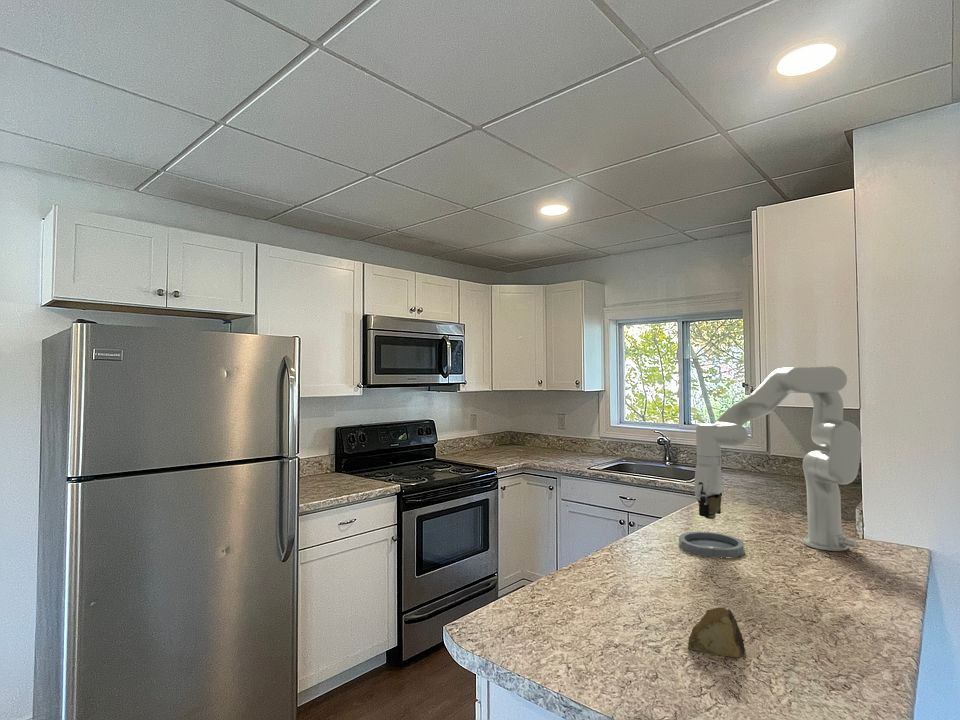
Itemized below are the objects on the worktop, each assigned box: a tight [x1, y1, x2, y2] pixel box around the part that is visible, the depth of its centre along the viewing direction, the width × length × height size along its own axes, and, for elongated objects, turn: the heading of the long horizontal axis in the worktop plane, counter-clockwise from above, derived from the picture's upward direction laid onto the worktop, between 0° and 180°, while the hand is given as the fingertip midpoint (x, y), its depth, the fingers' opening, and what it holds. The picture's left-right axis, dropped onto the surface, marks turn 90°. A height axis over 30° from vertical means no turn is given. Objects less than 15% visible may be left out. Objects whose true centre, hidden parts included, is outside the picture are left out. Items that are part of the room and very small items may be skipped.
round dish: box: [678, 531, 746, 559], centre depth 174 cm, size 20×20×3 cm
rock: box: [687, 606, 747, 659], centre depth 110 cm, size 11×9×10 cm
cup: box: [701, 493, 723, 520], centre depth 175 cm, size 8×7×8 cm
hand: (710, 514), depth 175 cm, fingers closed on cup, 6 cm apart
